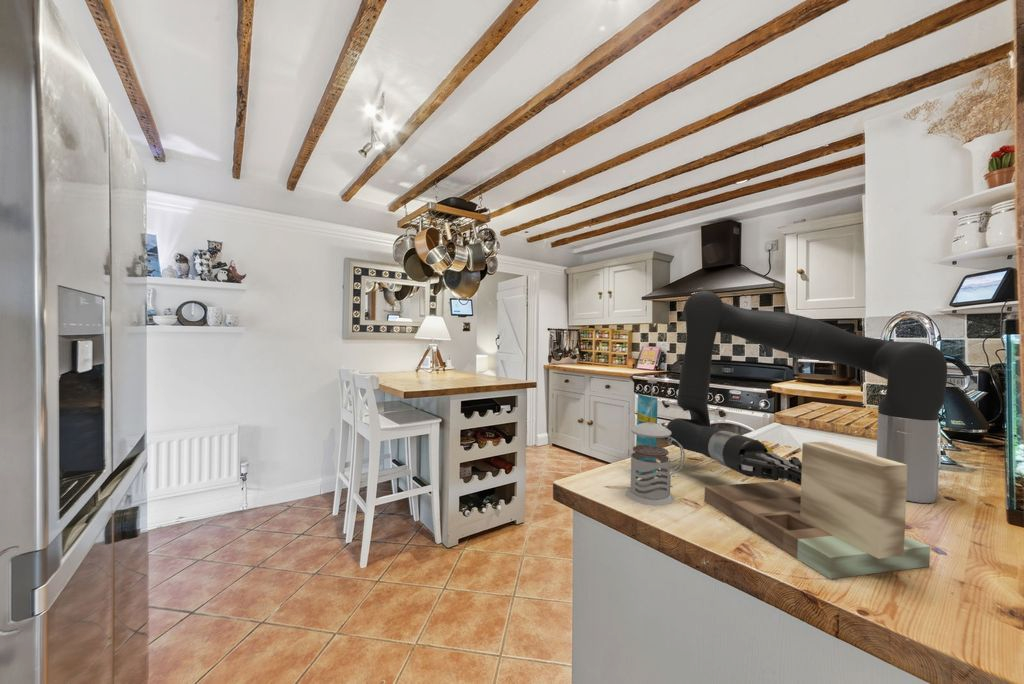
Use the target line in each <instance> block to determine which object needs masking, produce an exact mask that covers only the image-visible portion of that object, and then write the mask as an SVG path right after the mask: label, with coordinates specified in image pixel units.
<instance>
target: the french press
mask: <svg viewBox="0 0 1024 684" xmlns="http://www.w3.org/2000/svg"><path fill="white" fill-rule="evenodd" d="M647 383H648V384H651V396H653V392H654V391H653V389H654V385H653V384H657V383H658V381H657V378H656V377H653V376H651V377H648V378H647ZM666 427H667V426H665V425H662V424H658V423H657V424H656V423H653V422H652V398H651V422H649V423H641V424H638V425H637V424H635V425H634V426H633V427H631V428H630V430H631V433H632V434H634V435H636V436H637V435H639V436H644V437H650V445H649V446H648V445H638V446H636V445H635V446H633V447H632V450H633V453H631V455H630V486H629V487H628V488H627V489H626V490H625V496H627V498H628V499H631V500H632V501H633V502H636V503H640V504H643V505H649V506H654V507H655V506H657V507H659V506H667V505H671V504H673V503H674V502H675V498H674V495H673V494H672V493H671V477H672V475H674V474H677V473H678V472H679V471H681V470H682V468H683V466H684V464H685V461H686V460H685V459H686V456H685V455H686V453H685V449H683V447H682V445H681V444H680V443H679V442H677V441H676V440H675V439H673V438H672V437H669V436H671V434H672V433H671V431H670V430H668V429H667V428H666ZM667 437H669V438H667ZM651 438H657V439H664V438H667V445H669V446H672V443H671V442H672V441H675V442H677V444H678V445H679V447H680V446H681V447H680V448H679V447H678V448H679V449H680V450H679V451H680V458H679V462H678V464H677V465H676V466H675V467H674V468H672V469H671V460H670V458H669V456H667V455H669V450H668V449H666V448H664V447H661V446H658V445H657V447H656V446H653V445H652V446H651ZM670 438H671V440H670V441H669V439H670ZM644 457H653V458H656V459H657V460H658V461H659V462H656V461H654V460H644V461H640V460H641V459H643V458H644ZM681 462H682V463H681ZM680 464H681V466H680ZM679 467H680V468H679ZM676 469H678V470H676ZM651 470H656V472H652V471H651ZM675 470H676V471H675ZM672 471H674V472H672ZM638 472H643V473H641V474H638ZM671 472H672V473H671ZM646 474H648V475H646ZM652 476H654V477H652ZM655 477H657V478H655Z"/></svg>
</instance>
